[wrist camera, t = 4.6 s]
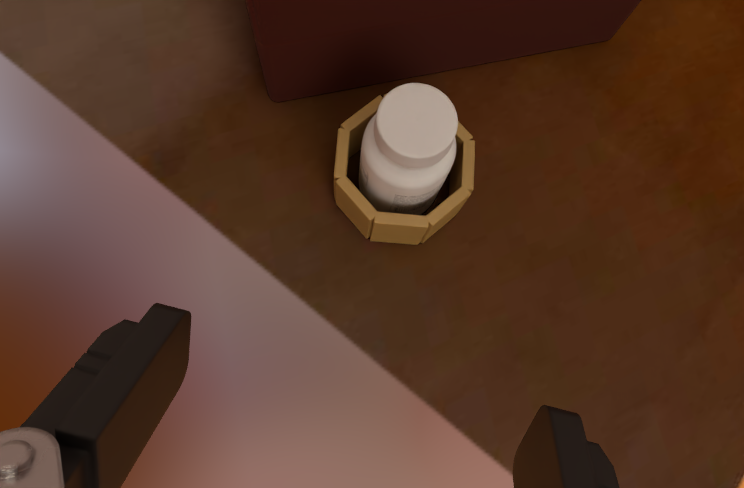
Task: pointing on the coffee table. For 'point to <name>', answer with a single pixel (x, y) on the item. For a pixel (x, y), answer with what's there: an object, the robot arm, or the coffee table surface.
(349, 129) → the stand
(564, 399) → the coffee table surface
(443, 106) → the pill bottle
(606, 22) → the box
